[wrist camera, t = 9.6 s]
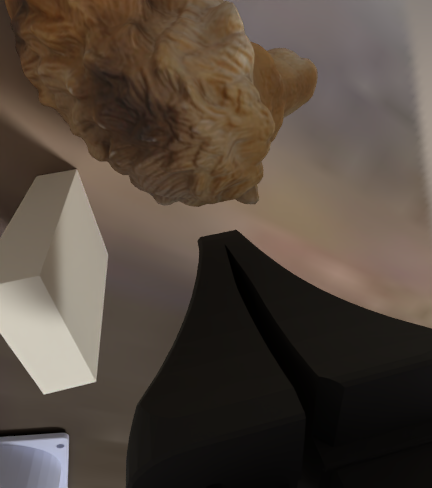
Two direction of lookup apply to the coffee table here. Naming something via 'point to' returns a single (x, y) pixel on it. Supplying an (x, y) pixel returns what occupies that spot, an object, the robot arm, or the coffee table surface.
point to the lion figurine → (163, 90)
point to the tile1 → (54, 283)
